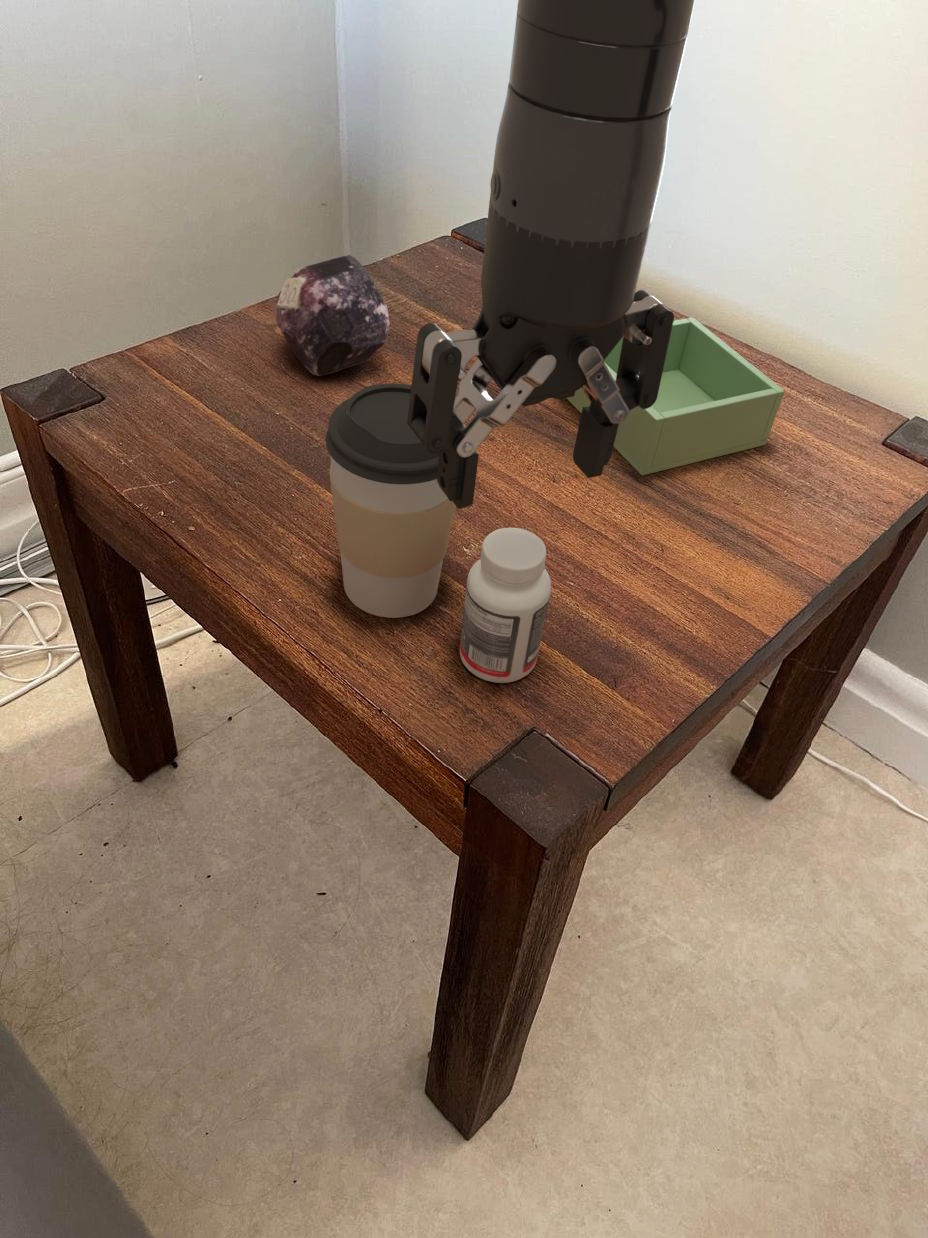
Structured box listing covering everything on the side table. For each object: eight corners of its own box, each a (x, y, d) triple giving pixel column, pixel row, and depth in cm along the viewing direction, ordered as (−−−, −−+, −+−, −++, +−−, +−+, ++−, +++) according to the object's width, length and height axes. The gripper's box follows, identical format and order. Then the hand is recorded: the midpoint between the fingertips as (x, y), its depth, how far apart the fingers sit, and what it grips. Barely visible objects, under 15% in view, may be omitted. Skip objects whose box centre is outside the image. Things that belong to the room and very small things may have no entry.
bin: (678, 369, 96) (692, 316, 92) (765, 444, 88) (785, 390, 84) (561, 393, 91) (570, 338, 87) (641, 475, 83) (656, 419, 79)
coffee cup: (403, 528, 75) (412, 354, 64) (478, 595, 70) (501, 419, 60) (303, 573, 70) (296, 393, 60) (377, 647, 66) (383, 467, 55)
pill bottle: (510, 619, 69) (529, 511, 62) (551, 670, 66) (575, 562, 59) (444, 642, 67) (455, 533, 60) (483, 696, 64) (499, 587, 57)
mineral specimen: (276, 307, 94) (315, 217, 88) (372, 360, 96) (417, 277, 90) (246, 354, 87) (286, 260, 80) (350, 411, 89) (397, 324, 83)
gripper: (471, 253, 39) (441, 553, 51) (744, 217, 45) (661, 496, 56) (396, 181, 44) (384, 472, 55) (652, 156, 49) (593, 426, 61)
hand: (524, 483), depth 56 cm, fingers open, 8 cm apart
